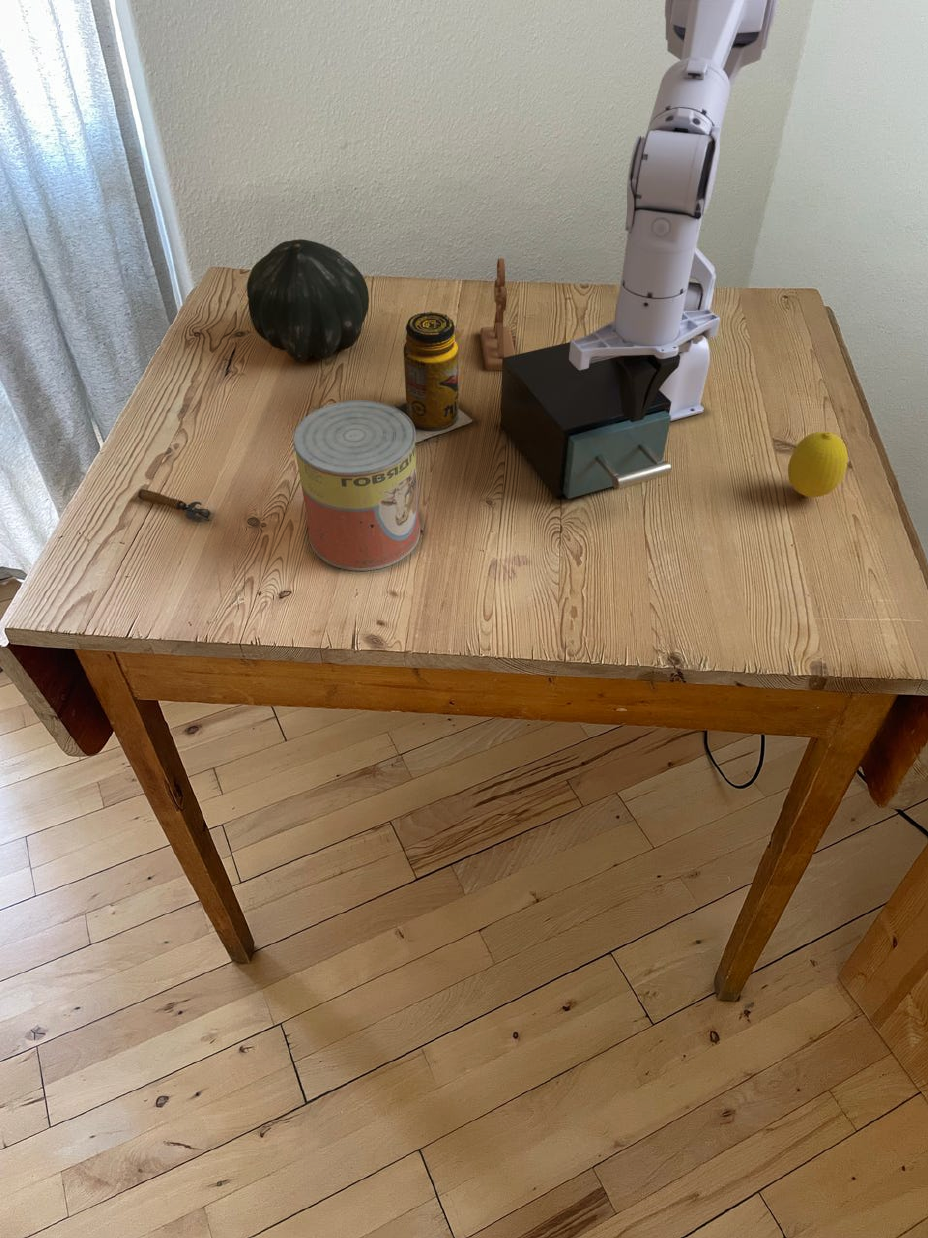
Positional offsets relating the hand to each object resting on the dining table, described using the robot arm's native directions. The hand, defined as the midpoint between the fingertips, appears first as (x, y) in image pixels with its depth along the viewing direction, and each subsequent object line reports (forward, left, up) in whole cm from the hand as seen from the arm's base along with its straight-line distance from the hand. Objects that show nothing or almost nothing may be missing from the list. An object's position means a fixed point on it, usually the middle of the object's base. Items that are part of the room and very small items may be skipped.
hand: (632, 415), depth 88 cm
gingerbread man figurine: (0, -32, -11) cm, 33 cm away
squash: (+20, -42, -11) cm, 48 cm away
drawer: (0, -5, -10) cm, 11 cm away
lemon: (-18, +8, -11) cm, 23 cm away
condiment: (+14, -22, -11) cm, 28 cm away
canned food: (+26, -6, -11) cm, 29 cm away
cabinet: (0, -10, -10) cm, 14 cm away
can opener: (+44, -16, -10) cm, 48 cm away
